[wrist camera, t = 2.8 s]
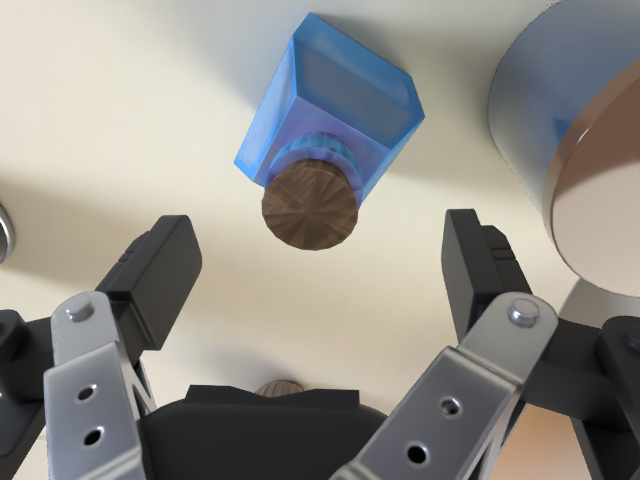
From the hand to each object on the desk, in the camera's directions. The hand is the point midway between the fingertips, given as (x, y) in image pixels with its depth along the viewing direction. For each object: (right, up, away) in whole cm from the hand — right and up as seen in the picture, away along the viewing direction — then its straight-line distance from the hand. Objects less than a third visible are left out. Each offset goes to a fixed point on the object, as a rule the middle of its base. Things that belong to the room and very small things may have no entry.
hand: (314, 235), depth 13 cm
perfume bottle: (+1, +8, +10) cm, 13 cm away
